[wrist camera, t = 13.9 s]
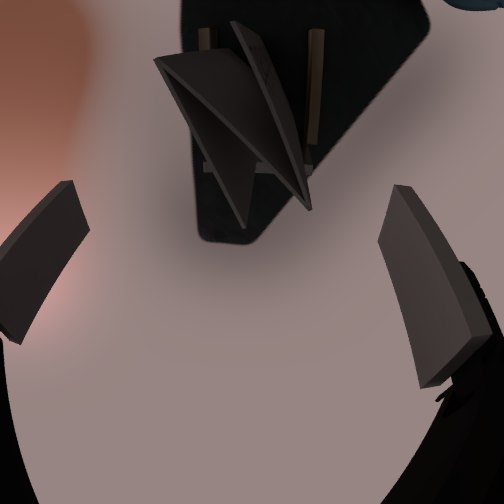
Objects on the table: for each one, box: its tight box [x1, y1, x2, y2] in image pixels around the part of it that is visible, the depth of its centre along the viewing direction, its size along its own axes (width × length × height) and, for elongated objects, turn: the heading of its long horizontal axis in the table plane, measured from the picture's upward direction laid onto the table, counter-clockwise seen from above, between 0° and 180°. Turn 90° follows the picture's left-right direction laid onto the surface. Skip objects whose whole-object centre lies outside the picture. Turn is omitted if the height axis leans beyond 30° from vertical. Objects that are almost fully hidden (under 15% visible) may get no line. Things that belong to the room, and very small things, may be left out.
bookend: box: [203, 132, 313, 175], centre depth 41 cm, size 14×2×14 cm, turn 90°
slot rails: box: [198, 28, 324, 145], centre depth 37 cm, size 17×18×6 cm
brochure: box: [153, 20, 312, 229], centre depth 29 cm, size 14×6×30 cm, turn 22°
